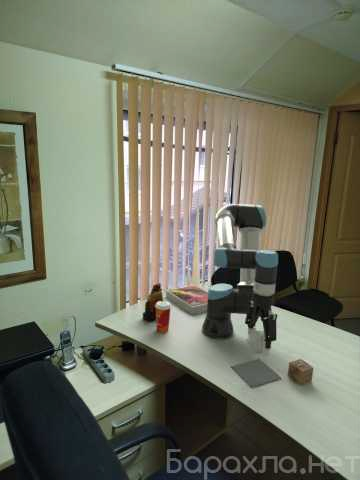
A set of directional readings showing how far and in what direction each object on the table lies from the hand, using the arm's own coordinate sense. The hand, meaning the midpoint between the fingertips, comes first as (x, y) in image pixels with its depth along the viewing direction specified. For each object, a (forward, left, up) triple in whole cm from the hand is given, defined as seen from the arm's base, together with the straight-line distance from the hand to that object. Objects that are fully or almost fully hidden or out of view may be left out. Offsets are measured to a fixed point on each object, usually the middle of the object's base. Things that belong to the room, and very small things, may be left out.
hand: (257, 349), depth 113 cm
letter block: (+9, +14, -10) cm, 19 cm away
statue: (-57, -23, -10) cm, 62 cm away
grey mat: (0, 0, -10) cm, 10 cm away
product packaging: (-69, +8, -11) cm, 70 cm away
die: (0, 0, -1) cm, 1 cm away
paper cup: (-43, -22, -10) cm, 49 cm away
